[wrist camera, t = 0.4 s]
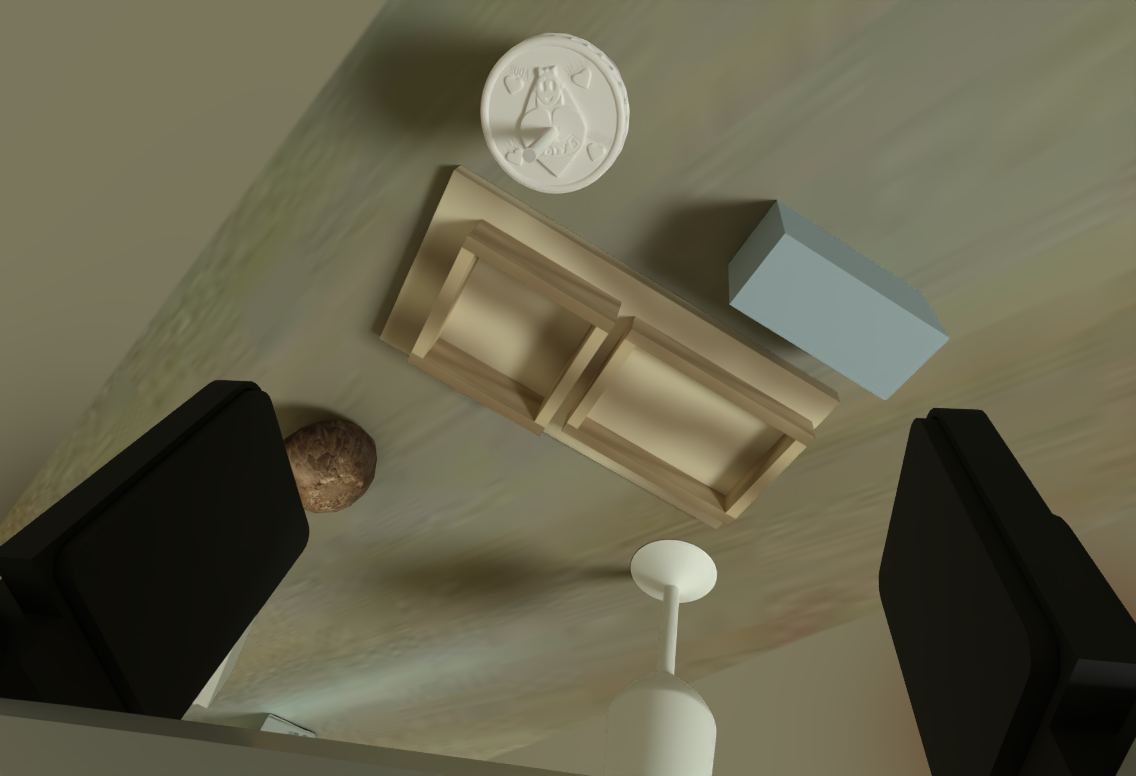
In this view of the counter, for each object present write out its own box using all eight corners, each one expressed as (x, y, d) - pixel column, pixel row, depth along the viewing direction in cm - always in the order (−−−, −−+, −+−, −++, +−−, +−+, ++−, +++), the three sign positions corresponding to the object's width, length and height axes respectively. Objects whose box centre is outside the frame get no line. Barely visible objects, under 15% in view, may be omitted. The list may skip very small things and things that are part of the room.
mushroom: (237, 450, 52) (246, 508, 47) (309, 376, 51) (325, 428, 46) (323, 487, 57) (338, 542, 53) (389, 421, 56) (410, 471, 52)
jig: (460, 165, 41) (435, 183, 37) (837, 392, 44) (847, 429, 40) (386, 331, 48) (359, 359, 44) (716, 518, 51) (716, 559, 47)
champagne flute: (728, 553, 52) (733, 923, 32) (702, 612, 56) (692, 977, 35) (641, 529, 52) (591, 879, 32) (621, 589, 56) (565, 937, 36)
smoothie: (538, 152, 40) (460, 228, 28) (523, 26, 37) (428, 52, 25) (650, 145, 38) (619, 221, 27) (645, 13, 35) (607, 34, 23)
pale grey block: (776, 199, 39) (785, 233, 34) (921, 291, 40) (950, 338, 35) (728, 263, 41) (729, 304, 36) (865, 349, 42) (885, 400, 37)
